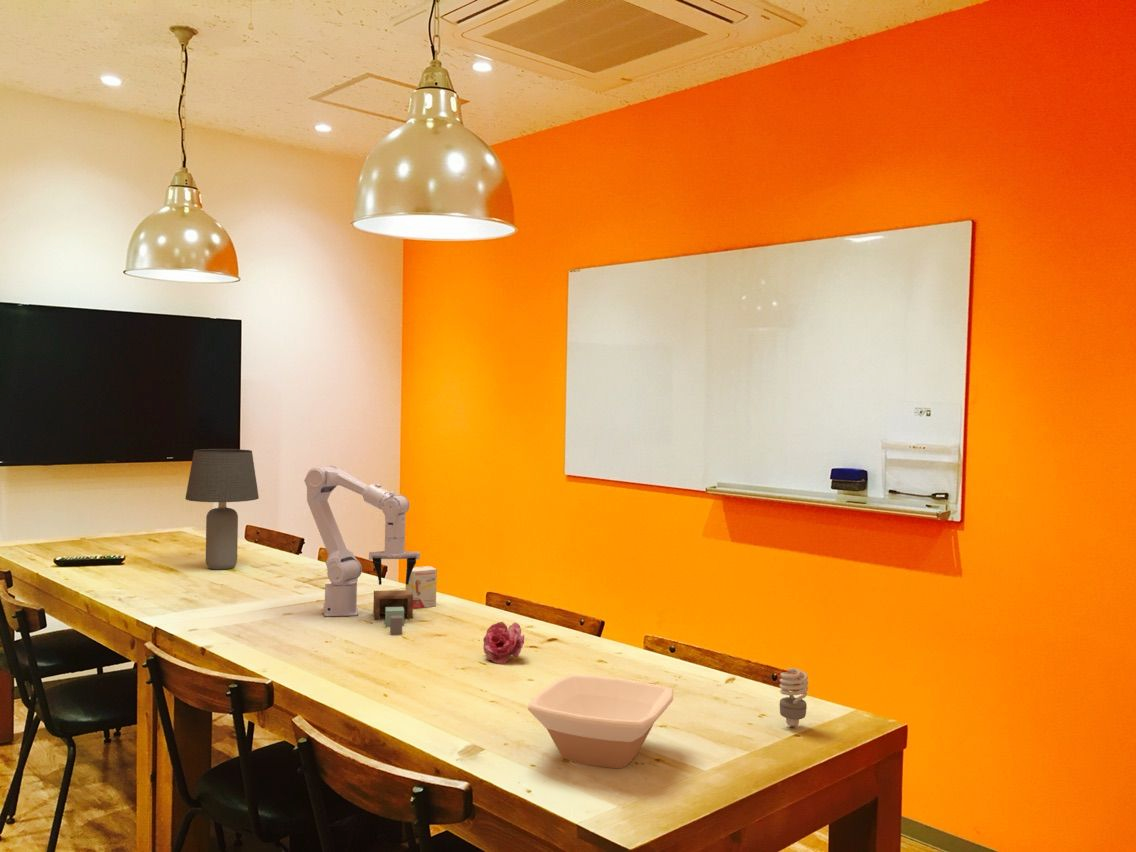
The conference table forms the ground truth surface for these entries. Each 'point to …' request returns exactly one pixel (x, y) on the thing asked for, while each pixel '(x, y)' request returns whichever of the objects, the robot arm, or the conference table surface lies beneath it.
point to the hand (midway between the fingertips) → (393, 583)
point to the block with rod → (394, 619)
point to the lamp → (222, 498)
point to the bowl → (599, 717)
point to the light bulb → (790, 705)
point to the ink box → (423, 586)
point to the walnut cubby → (393, 602)
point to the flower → (503, 642)
